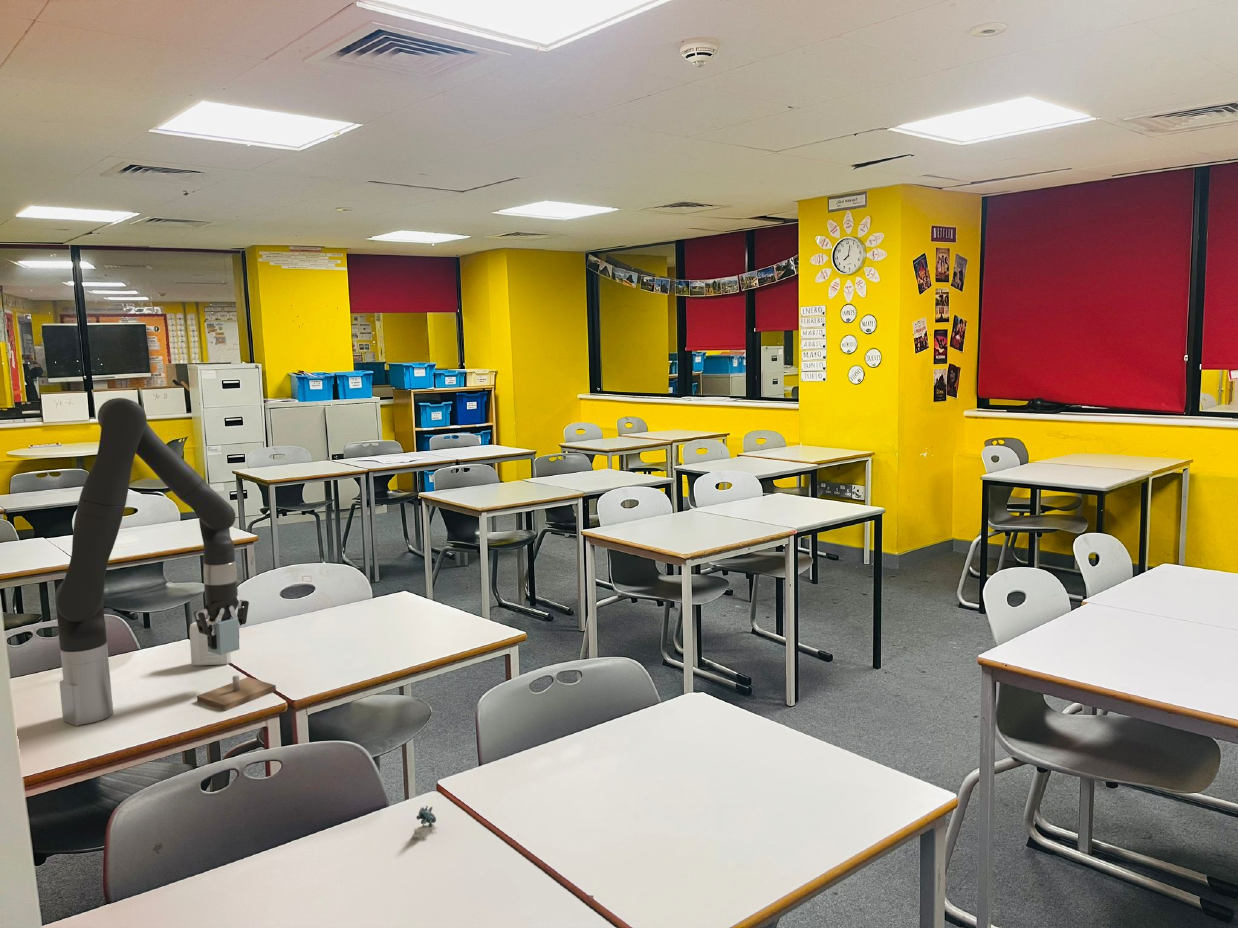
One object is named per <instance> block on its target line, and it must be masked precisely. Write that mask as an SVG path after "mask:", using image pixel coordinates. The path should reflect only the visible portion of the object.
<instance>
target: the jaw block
mask: <svg viewBox="0 0 1238 928" xmlns="http://www.w3.org/2000/svg"><path fill="white" fill-rule="evenodd" d="M207 621H208V620H207ZM212 622H215V620H213V621H212ZM207 625H208V624H207ZM211 627H212V625H211ZM215 635H216V637H217V649H215V650H213V649H210V647H208V652H212V653H215V654H219V655H223V654H226V653H229V652H231V653H233V652H236V651H239V650H240V628H239V629H238V619H237V618H235V619H232V618H230V619H224V620H223V621H221V622H220V623H217V626H216V634H215Z"/></svg>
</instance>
